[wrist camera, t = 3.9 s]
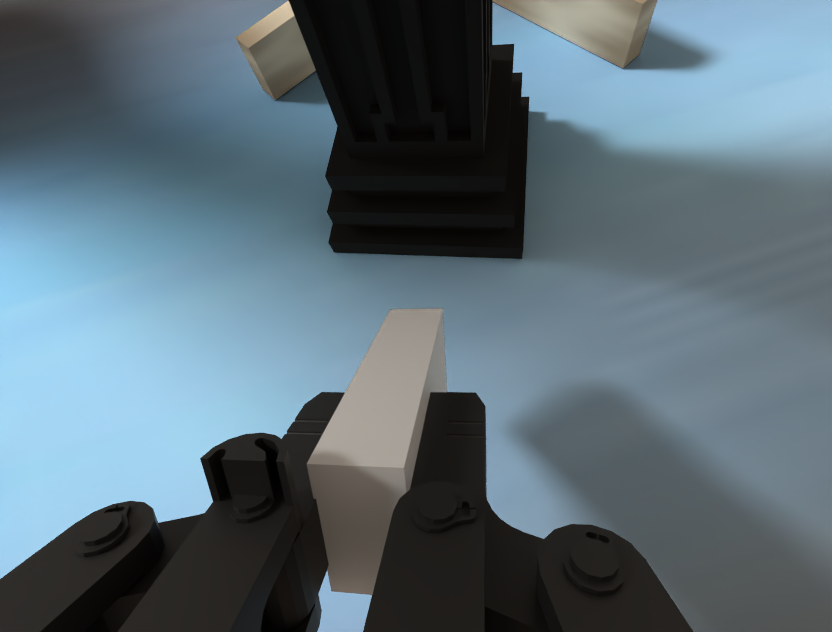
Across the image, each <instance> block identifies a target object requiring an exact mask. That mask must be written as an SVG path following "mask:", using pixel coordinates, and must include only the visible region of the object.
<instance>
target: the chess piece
mask: <svg viewBox="0 0 832 632" xmlns="http://www.w3.org/2000/svg"><path fill="white" fill-rule="evenodd" d="M288 1H289V3H290V6H291V8H292V11H293V13H294V16H295V18H296V21H297V23H298V26H299V29H300V31H301V34H302V36H303V39H304V41H305V44H306V46H307V49H308V52H309V54H310V57H311V59H312V62H313V64H314V67H315V69H316V72H317V75H318V77H319V80H320V82H321V85H322V87H323V90H324V92H325V95H326V97H327V100H328V103H329V105H330V108H331V110H332V113H333V115H334V118H335V120H336V123H337V126H338V127H337V131H336V135H335V139H334V143H333V147H332V151H331V155H330V159H329V163H328V167H327V171H326V175H325V177H326V179H327V181H328V183H329V185H330V187H331V189H332V193H331V197H330V201H329V206H328V210H327V213H328V215H329V217H330V218H331V220H332V222H333V225H332V229H331V234H330V238H329V242H328V243H329V244H330V246H331V248H332V249H333V251H334V252H338V253H368V254H397V255H427V256H457V257H486V258H516V259H522V253H523V238H524V213H525V188H526V163H527V138H528V113H529V97H521V88H522V73H513V55H514V44H505V45H492V0H288Z"/></svg>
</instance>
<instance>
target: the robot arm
mask: <svg viewBox="0 0 832 632" xmlns="http://www.w3.org/2000/svg"><path fill="white" fill-rule="evenodd" d="M200 459H201V462H202V466H203V469H204V472H205V476H206V479H207V482H208V486H209V489H210V492H211V496H212V499H213V503H212V504H211V506H210V507H209V508H208V510H207V511H206V512H205V513H203V514H200V515H196V516H191V517H186V518H181V519H176V520H171V521H166V522H161V523H158V521H157V519H156V516H155V513H154V510H153V508H152V507H150V506H149V505H147V504H146V503H144V502H136V501H127V502H122V503H117V504H112V505H110V506H107V507H105V508H102V509H100V510H98V511H95V512H93V513H91V514H90V515H88V516H86V517H85V518H83V519H82V520H80V521H78V522H77V523H75V524H74V525H72V526H71V527H70V528H68V529H67V530H66V531H64V532H63V533H62V534H60V535H59V536H58V537H56V538H55V539H54V540H52V541H51V542H50V543H48V544H47V545H45V546H44V547H43V548H41V549H40V550H39V551H37V552H36V553H35V554H33V555H32V556H31V557H29V558H28V559H27V560H25V561H24V562H23V563H21V564H20V565H19V566H17V567H16V568H15V569H13V570H12V571H11V572H9V573H8V574H7V575H5V576H4V577H3V578H1V579H0V632H317V631H318V628H319V625H320V618H321V611H322V610H321V605H320V601H319V596H318V593H319V590H320V588H321V585H322V582H323V579H324V577H325V574H326V571H328V576H329V581H330V586H331V591H335V592H346V593H358V594H370V595H372V598H371V602H370V606H369V610H368V614H367V618H366V623H365V627H364V631H363V632H693V631H692V629H691V628H690V626H689V625H688V623H687V622H686V620H685V619H684V617H683V616H682V614H681V613H680V611H679V609H678V608H677V606H676V605H675V603H674V602H673V600H672V599H671V597H670V596H669V594H668V593H667V591H666V590H665V588H664V587H663V585H662V584H661V582H660V581H659V579H658V578H657V576H656V575H655V573H654V572H653V570H652V569H651V567H650V566H649V564H648V563H647V561H646V560H645V558H644V557H643V556H642V555H641V554H640V553H639V552H638V551H637V550H636V549H635V548H634V546H633V545H632V544H631V543H629V542H628V541H626V540H625V539H623V538H621V537H620V536H618V535H617V534H615V533H613V532H612V531H609V530H606V529H603V528H599V527H596V526H593V525H579V524H570V525H567V526H564V527H561V528H558V529H555V530H553V531H552V532H551V533H550V534H549V535H548V536H547V537H546V538H545V539H542V538H539V537H536V536H533V535H530V534H527V533H524V532H522V531H520V530H518V529H515V528H513V527H511V526H510V525H508V524H507V523H505V522H504V521H503V520H501V519H500V518H499V517H498V516H497V515H496V514H495V513H494V511H493V510H492V509H491V507H490V505H489V503H488V501H487V497H486V416H485V405H484V404H483V402H482V401H481V399H480V398H479V397H478V395H477V394H476V393H462V392H447V381H446V362H445V343H444V324H443V308H432V309H390V311H389V312H388V314H387V316H386V318H385V320H384V322H383V324H382V325H381V327H380V329H379V331H378V333H377V335H376V337H375V338H374V340H373V342H372V344H371V346H370V348H369V349H368V351H367V353H366V355H365V357H364V359H363V361H362V362H361V364H360V366H359V368H358V370H357V372H356V373H355V375H354V377H353V379H352V381H351V383H350V385H349V386H348V388H347V390H346V392H345V393H341V392H321V393H320V394H318V395H317V396H316V397H314V398H313V399H312V400H310V401H309V402H307V403H306V404H305V405H304V406H303V408H302V409H301V411H300V412H299V414H298V415H297V417H296V418H295V422H293V423H292V424H291V426H290V427H289V429H288V430H287V434H285V435H284V436H283V438H282V439H280V438H279V437H277V436H276V435H272V434H266V433H254V434H245V435H242V436H238V437H235V438H232V439H229V440H227V441H225V442H223V443H221V444H219V445H217V446H215V447H213V448H212V449H211V450H210V451H209V452H207V453H206V454H205V455H204V456H203V457H202V458H200Z"/></svg>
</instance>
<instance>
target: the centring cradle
mask: <svg viewBox="0 0 832 632" xmlns="http://www.w3.org/2000/svg"><path fill="white" fill-rule="evenodd" d="M492 2H494V3H496V4H498V5H500V6H502V7H504V8H506V9H508V10H510V11H512V12H514V13H516V14H518V15H520V16H522V17H524V18H526V19H527V20H529V21H531V22H533V23H535V24H537V25H539V26H541V27H543V28H545V29H547V30H549V31H551V32H553V33H555V34H557V35H559V36H561V37H562V38H564V39H566V40H568V41H570V42H572V43H574V44H576V45H578V46H580V47H582V48H584V49H586V50H588V51H590V52H592V53H594V54H596V55H597V56H599V57H601V58H603V59H605V60H607V61H609V62H611V63H613V64H615V65H617V66H619V67H621V68H624V67H625V66H627V65H628V64H629V63H630V62H631V61H632V60H633V59H635V58H636V57H637V56H638V55H639V54H640V51H641V48H642V45H643V42H644V39H645V36H646V33H647V30H648V27H649V24H650V21H651V18H652V15H653V12H654V9H655V6H656V3H657V0H492ZM236 40H237V42H238V44H239V46H240V47H241V49H242V51H243V53H244V55H245V57H246V59H247V60H248V62H249V64H250V66H251V68H252V70H253V72H254V74H255V75H256V77H257V79H258V81H259V83H260V85H261V87H262V88H263V90H264V91H265V92H266V93H267V94H269V95H270V96H271V97H272V98H273V99H274V100H277V99H278V98H279V97H281V96H282V95H283V94H285V93H286V92H287V91H289V90H290V89H291V88H293V87H294V86H296V85H297V84H298V83H300V82H301V81H302V80H304V79H305V78H306V77H308V76H309V75H310V74H312V73H313V72H314V71H316V69H315V67H314V64H313V62H312V59H311V57H310V54H309V52H308V49H307V46H306V44H305V41H304V39H303V36H302V34H301V31H300V29H299V26H298V23H297V21H296V18H295V16H294V13H293V11H292V8H291V6H290V3H289V1H287V2H286V3H285V4H283V5H282V6H280V7H279V8H277V9H276V10H274V11H273V12H272V13H270V14H269V15H267V16H266V17H264V18H263V19H262V20H260V21H259V22H257V23H256V24H254V25H253V26H252V27H250V28H249V29H247V30H246V31H244V32H243V33H242V34H240V35H239V36H237V37H236Z"/></svg>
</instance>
